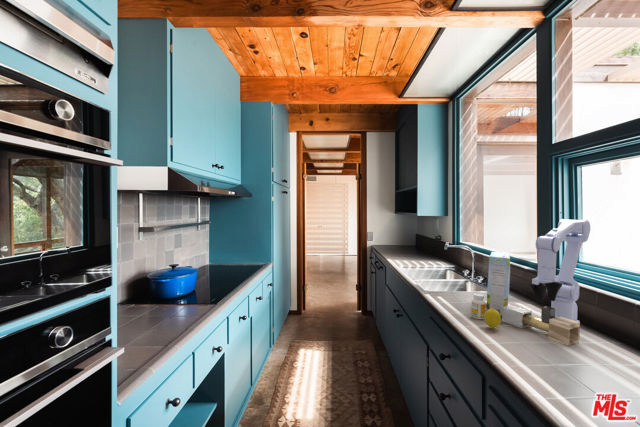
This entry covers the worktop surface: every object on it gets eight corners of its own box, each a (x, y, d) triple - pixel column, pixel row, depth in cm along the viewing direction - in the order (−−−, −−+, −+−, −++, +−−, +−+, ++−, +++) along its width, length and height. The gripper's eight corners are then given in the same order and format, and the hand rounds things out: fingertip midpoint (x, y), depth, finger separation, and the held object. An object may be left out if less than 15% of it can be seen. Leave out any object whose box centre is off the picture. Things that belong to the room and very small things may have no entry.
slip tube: (522, 321, 126) (523, 299, 125) (569, 337, 110) (570, 312, 110) (516, 322, 124) (516, 300, 124) (562, 339, 109) (563, 313, 109)
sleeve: (511, 319, 131) (512, 305, 131) (531, 326, 123) (531, 311, 123) (502, 321, 128) (502, 306, 128) (521, 328, 121) (522, 312, 121)
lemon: (502, 332, 117) (503, 311, 116) (486, 330, 118) (487, 309, 117) (497, 326, 122) (498, 306, 122) (482, 325, 123) (482, 305, 123)
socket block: (560, 335, 114) (560, 316, 114) (579, 342, 109) (579, 322, 109) (548, 338, 112) (549, 319, 111) (567, 345, 106) (568, 325, 106)
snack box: (508, 318, 132) (510, 258, 131) (485, 314, 136) (487, 256, 136) (508, 305, 150) (510, 252, 150) (488, 302, 155) (490, 250, 154)
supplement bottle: (484, 316, 134) (484, 293, 134) (486, 320, 129) (487, 297, 129) (470, 314, 136) (471, 292, 136) (472, 318, 131) (472, 295, 130)
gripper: (546, 269, 115) (545, 306, 115) (569, 267, 121) (567, 302, 121) (527, 266, 121) (525, 300, 122) (549, 264, 127) (548, 297, 128)
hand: (545, 301), depth 122 cm, fingers open, 7 cm apart
